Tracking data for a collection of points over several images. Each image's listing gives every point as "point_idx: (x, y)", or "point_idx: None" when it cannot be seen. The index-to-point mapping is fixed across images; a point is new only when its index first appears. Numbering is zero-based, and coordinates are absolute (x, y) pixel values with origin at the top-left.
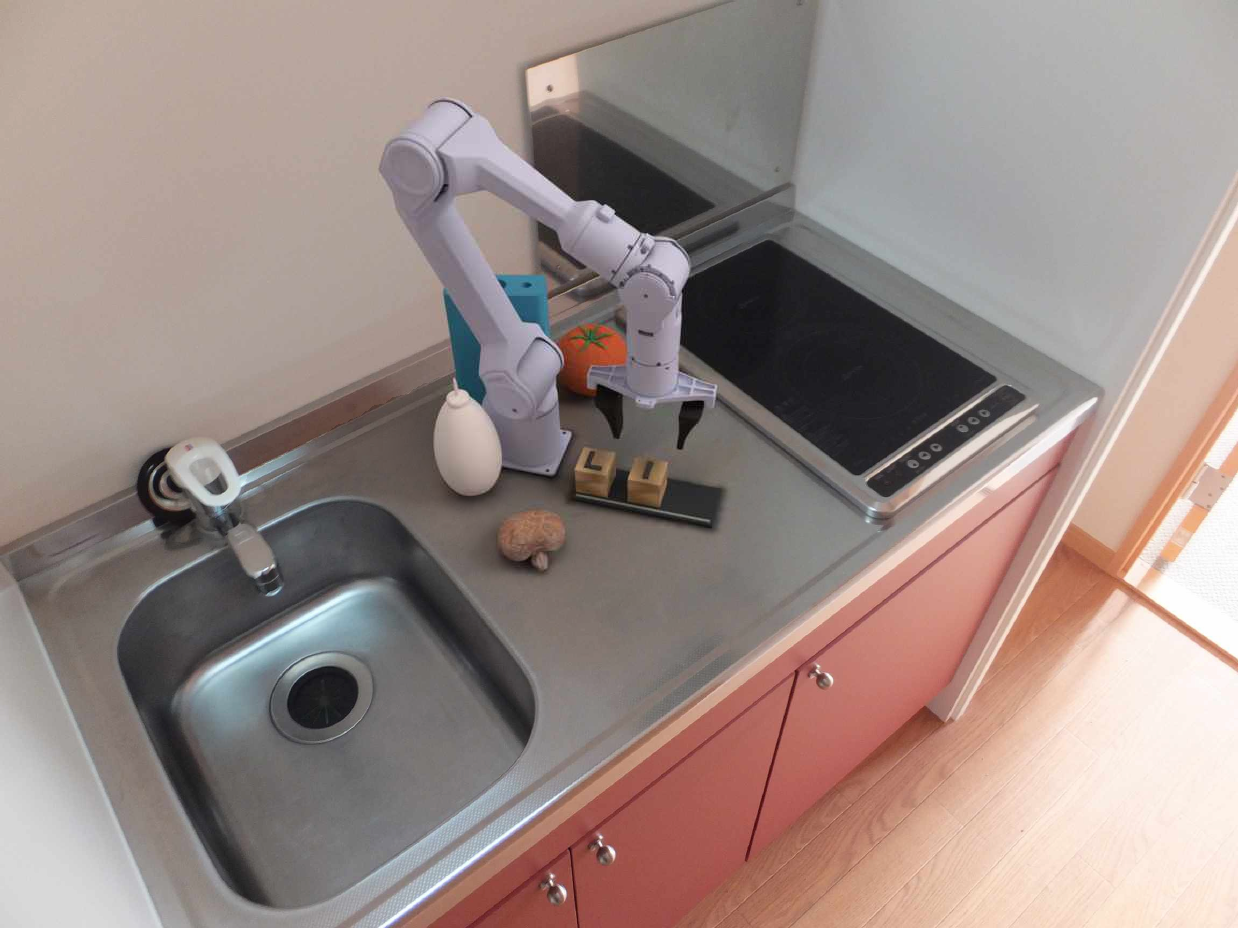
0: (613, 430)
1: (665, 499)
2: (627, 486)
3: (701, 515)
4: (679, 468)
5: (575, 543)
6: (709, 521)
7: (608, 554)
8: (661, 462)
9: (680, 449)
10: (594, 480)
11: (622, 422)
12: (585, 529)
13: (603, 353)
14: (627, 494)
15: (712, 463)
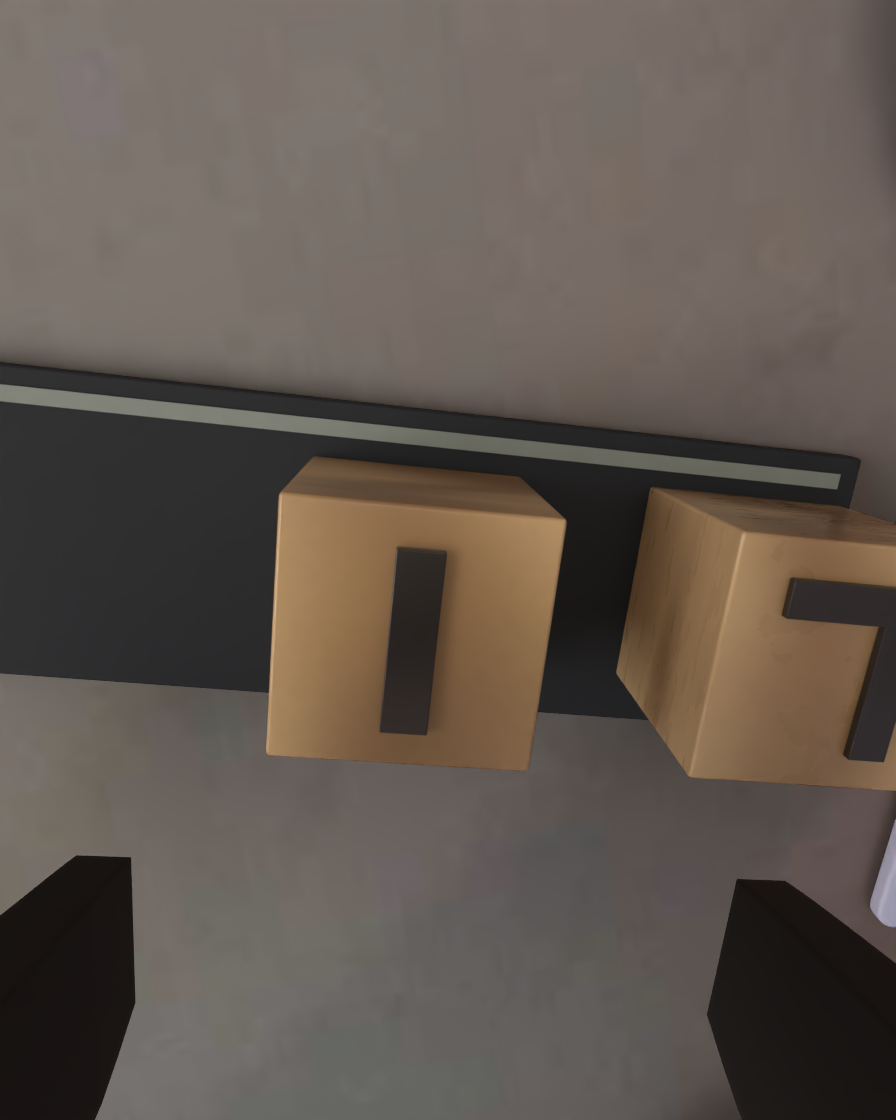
0: (882, 970)
1: None
2: None
3: (27, 430)
4: (256, 787)
5: (808, 98)
6: None
7: (590, 25)
8: (315, 741)
9: (83, 858)
10: (798, 522)
11: (748, 1085)
12: (752, 232)
13: None
14: None
15: (76, 852)
